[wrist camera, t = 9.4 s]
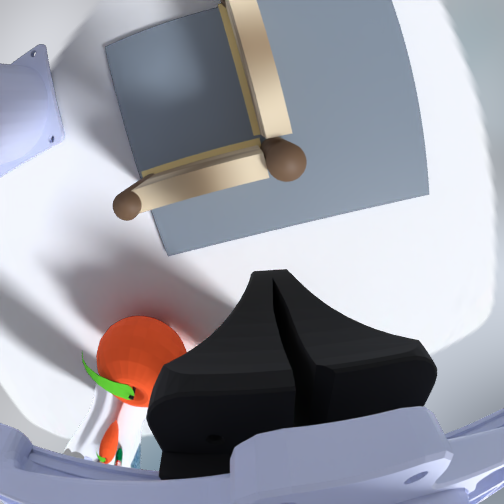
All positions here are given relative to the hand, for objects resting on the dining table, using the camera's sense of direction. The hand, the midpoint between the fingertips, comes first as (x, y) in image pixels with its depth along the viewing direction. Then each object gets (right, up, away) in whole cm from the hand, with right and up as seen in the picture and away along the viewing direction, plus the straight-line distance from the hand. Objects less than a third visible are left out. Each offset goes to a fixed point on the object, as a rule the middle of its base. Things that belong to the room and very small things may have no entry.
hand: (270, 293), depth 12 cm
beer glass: (-14, -12, +16) cm, 24 cm away
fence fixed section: (-3, +7, +7) cm, 10 cm away
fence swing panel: (-1, +13, +4) cm, 13 cm away
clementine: (-9, -5, +12) cm, 16 cm away
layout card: (+1, +10, +6) cm, 12 cm away
